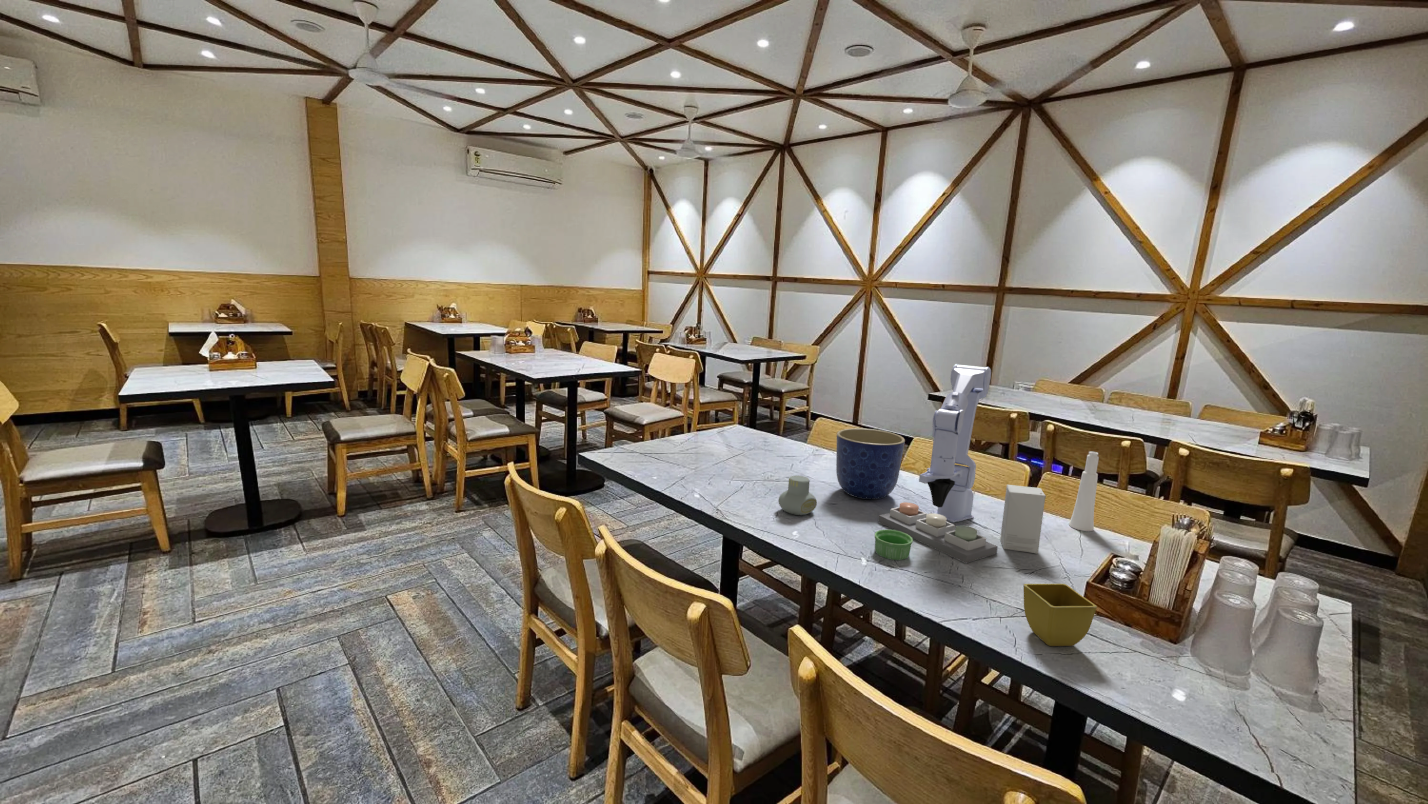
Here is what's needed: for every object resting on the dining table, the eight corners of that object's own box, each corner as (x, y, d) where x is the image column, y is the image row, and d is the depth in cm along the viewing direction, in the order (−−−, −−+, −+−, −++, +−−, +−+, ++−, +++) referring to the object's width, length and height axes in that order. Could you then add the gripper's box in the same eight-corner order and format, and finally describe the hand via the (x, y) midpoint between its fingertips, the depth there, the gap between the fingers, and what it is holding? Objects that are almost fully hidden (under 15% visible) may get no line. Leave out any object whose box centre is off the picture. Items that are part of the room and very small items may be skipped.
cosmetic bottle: (1095, 527, 166) (1108, 452, 162) (1091, 533, 162) (1104, 456, 158) (1071, 521, 170) (1083, 448, 166) (1066, 526, 166) (1078, 451, 162)
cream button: (933, 520, 157) (934, 512, 157) (949, 527, 153) (950, 518, 153) (921, 523, 155) (922, 515, 154) (936, 530, 150) (937, 521, 150)
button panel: (907, 515, 169) (909, 502, 168) (996, 553, 146) (998, 538, 145) (878, 521, 163) (879, 508, 162) (965, 563, 140) (967, 547, 139)
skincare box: (1033, 544, 152) (1042, 487, 149) (1038, 555, 146) (1047, 495, 143) (998, 539, 155) (1006, 483, 152) (1001, 549, 149) (1010, 490, 146)
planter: (906, 492, 189) (912, 435, 186) (888, 510, 172) (894, 448, 169) (845, 479, 200) (849, 425, 197) (822, 495, 183) (826, 436, 180)
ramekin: (891, 564, 138) (893, 546, 137) (865, 548, 145) (866, 532, 145) (919, 557, 142) (920, 540, 141) (892, 543, 150) (893, 527, 149)
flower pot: (1015, 625, 113) (1022, 582, 112) (1058, 625, 114) (1065, 582, 112) (1044, 653, 105) (1052, 607, 103) (1090, 652, 106) (1098, 606, 104)
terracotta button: (907, 509, 165) (908, 501, 164) (921, 515, 161) (922, 507, 160) (894, 512, 162) (895, 503, 162) (909, 518, 158) (910, 509, 158)
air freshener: (795, 520, 162) (797, 485, 160) (773, 511, 168) (775, 477, 166) (820, 511, 169) (822, 478, 167) (798, 503, 175) (800, 471, 173)
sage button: (962, 532, 150) (964, 524, 149) (980, 540, 145) (981, 531, 145) (950, 536, 147) (951, 527, 147) (967, 543, 143) (968, 534, 142)
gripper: (948, 449, 157) (943, 497, 160) (911, 454, 150) (906, 504, 152) (971, 455, 151) (965, 505, 154) (934, 461, 144) (928, 514, 147)
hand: (937, 505), depth 153 cm, fingers closed
